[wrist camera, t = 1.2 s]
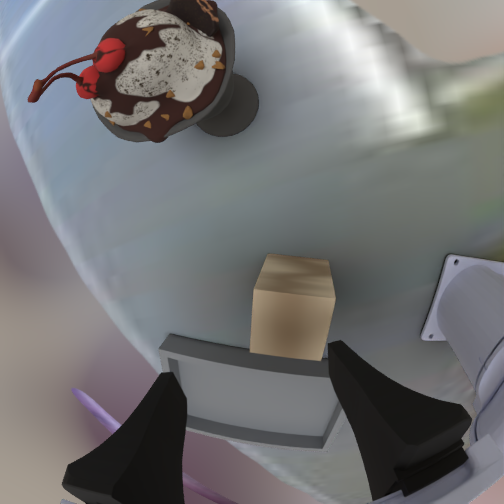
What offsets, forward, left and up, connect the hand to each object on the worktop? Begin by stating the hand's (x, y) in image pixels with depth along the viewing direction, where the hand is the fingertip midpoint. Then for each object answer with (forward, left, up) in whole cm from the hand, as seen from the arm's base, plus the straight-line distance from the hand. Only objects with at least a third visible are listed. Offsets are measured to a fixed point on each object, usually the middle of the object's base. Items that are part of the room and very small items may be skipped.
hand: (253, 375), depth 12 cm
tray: (+1, +14, -10) cm, 17 cm away
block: (-1, 0, -10) cm, 10 cm away
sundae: (+5, -13, -10) cm, 17 cm away
